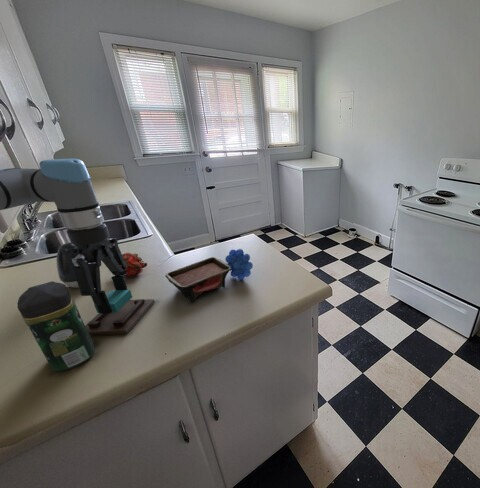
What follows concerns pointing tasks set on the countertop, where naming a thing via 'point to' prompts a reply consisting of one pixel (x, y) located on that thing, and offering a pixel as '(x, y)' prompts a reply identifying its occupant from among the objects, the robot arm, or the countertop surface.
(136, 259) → the dragon fruit
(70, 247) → the black rounded piece
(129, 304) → the back plate
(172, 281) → the rectangular planter
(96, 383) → the countertop surface
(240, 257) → the blue lumpy round piece
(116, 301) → the pad
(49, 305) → the coffee jar
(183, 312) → the countertop surface
